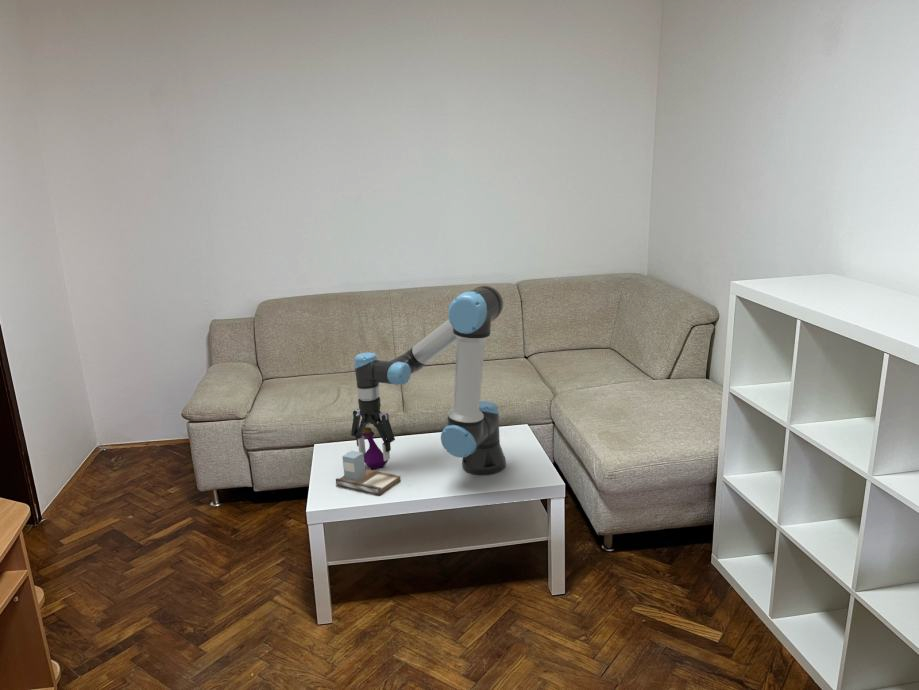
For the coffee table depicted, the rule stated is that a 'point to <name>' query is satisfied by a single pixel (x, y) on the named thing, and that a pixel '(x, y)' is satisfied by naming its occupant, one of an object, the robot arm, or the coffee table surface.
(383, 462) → the perfume bottle
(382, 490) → the display board
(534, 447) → the coffee table surface
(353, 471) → the tea tin
